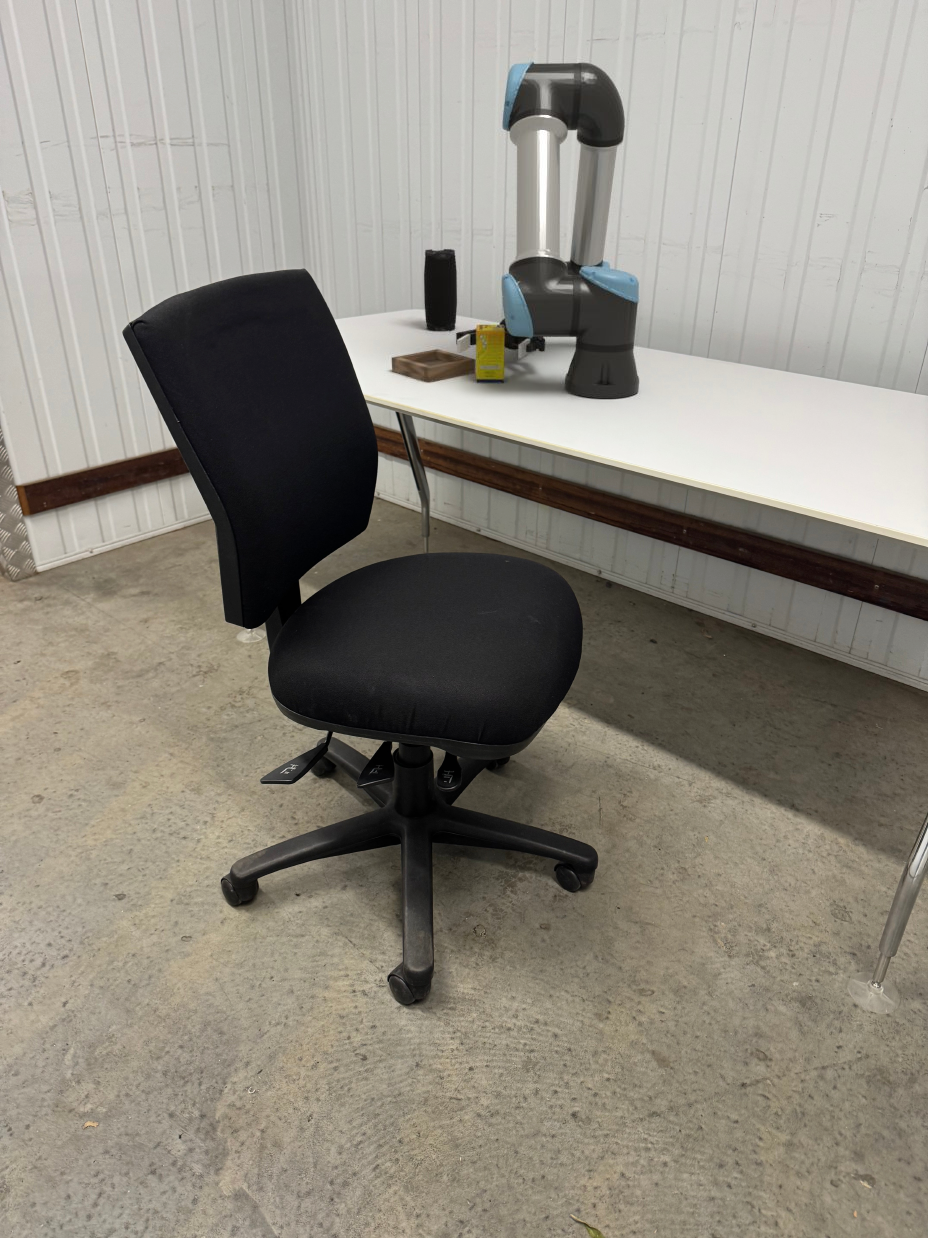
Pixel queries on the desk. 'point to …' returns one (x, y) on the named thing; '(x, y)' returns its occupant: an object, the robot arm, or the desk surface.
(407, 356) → the socket block
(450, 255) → the portable speaker
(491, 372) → the supplement box
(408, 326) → the desk surface
